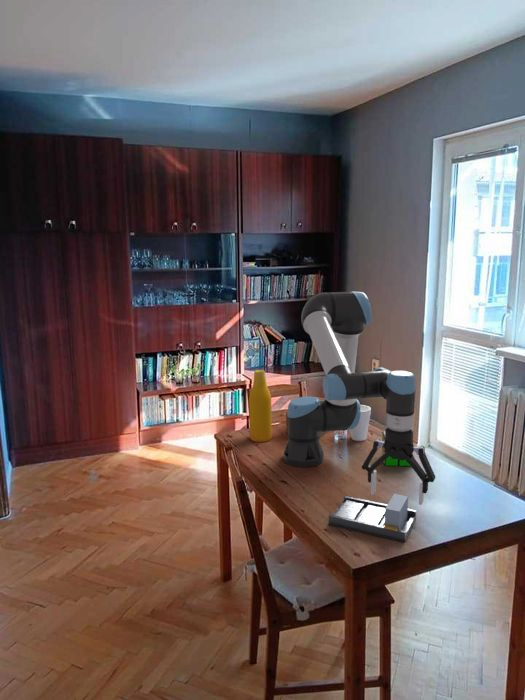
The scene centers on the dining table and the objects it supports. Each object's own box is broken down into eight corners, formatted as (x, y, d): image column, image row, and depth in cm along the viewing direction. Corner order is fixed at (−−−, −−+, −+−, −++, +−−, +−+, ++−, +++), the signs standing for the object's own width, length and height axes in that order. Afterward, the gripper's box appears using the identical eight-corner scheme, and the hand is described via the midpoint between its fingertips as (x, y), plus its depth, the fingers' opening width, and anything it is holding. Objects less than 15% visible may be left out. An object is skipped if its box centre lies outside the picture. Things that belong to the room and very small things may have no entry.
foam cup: (356, 443, 224) (356, 413, 221) (342, 436, 232) (343, 407, 229) (375, 439, 228) (375, 409, 226) (361, 432, 236) (361, 403, 234)
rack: (328, 525, 161) (328, 514, 161) (344, 504, 173) (344, 494, 173) (404, 542, 151) (404, 531, 150) (415, 519, 163) (416, 508, 163)
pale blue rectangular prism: (384, 531, 155) (385, 508, 154) (393, 515, 164) (394, 493, 163) (398, 534, 153) (399, 511, 152) (407, 518, 162) (408, 496, 161)
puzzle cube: (408, 456, 211) (409, 431, 209) (412, 466, 201) (413, 440, 199) (381, 455, 212) (382, 430, 210) (384, 466, 202) (385, 440, 200)
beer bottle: (254, 443, 226) (253, 374, 221) (246, 436, 235) (244, 369, 229) (275, 440, 230) (274, 372, 224) (266, 433, 238) (265, 367, 232)
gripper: (351, 424, 155) (350, 494, 160) (443, 438, 144) (439, 513, 149) (360, 416, 162) (358, 483, 167) (448, 429, 151) (444, 501, 155)
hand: (396, 497), depth 158 cm, fingers open, 13 cm apart
